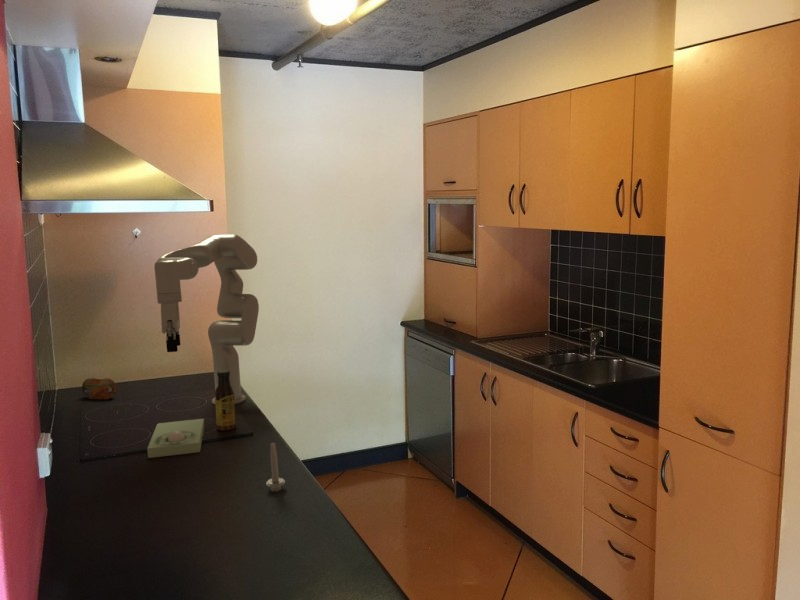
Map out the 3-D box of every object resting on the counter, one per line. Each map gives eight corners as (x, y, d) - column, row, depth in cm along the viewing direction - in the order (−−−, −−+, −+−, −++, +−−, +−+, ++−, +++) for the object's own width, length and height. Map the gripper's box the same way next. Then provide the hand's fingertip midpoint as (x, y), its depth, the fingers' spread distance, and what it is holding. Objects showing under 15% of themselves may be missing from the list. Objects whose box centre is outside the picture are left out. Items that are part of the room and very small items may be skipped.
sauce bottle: (224, 432, 217) (220, 374, 214) (213, 429, 220) (208, 372, 218) (240, 427, 222) (236, 370, 219) (228, 424, 226) (224, 368, 223)
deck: (158, 432, 220) (157, 423, 220) (204, 427, 223) (203, 418, 223) (148, 458, 197) (147, 448, 196) (199, 452, 200) (199, 442, 200)
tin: (82, 398, 265) (80, 378, 263) (88, 396, 268) (86, 376, 266) (113, 400, 260) (111, 379, 259) (118, 398, 263) (116, 377, 262)
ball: (167, 447, 201) (168, 446, 206) (184, 447, 203) (185, 446, 207) (167, 431, 202) (169, 430, 207) (184, 431, 203) (185, 430, 208)
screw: (268, 495, 168) (265, 487, 173) (287, 491, 170) (283, 484, 174) (264, 446, 166) (261, 440, 171) (283, 443, 168) (280, 437, 172)
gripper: (160, 295, 222) (165, 344, 224) (153, 302, 205) (158, 355, 207) (183, 293, 223) (188, 342, 226) (178, 300, 207) (183, 353, 209)
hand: (174, 348), depth 217 cm, fingers open, 9 cm apart
